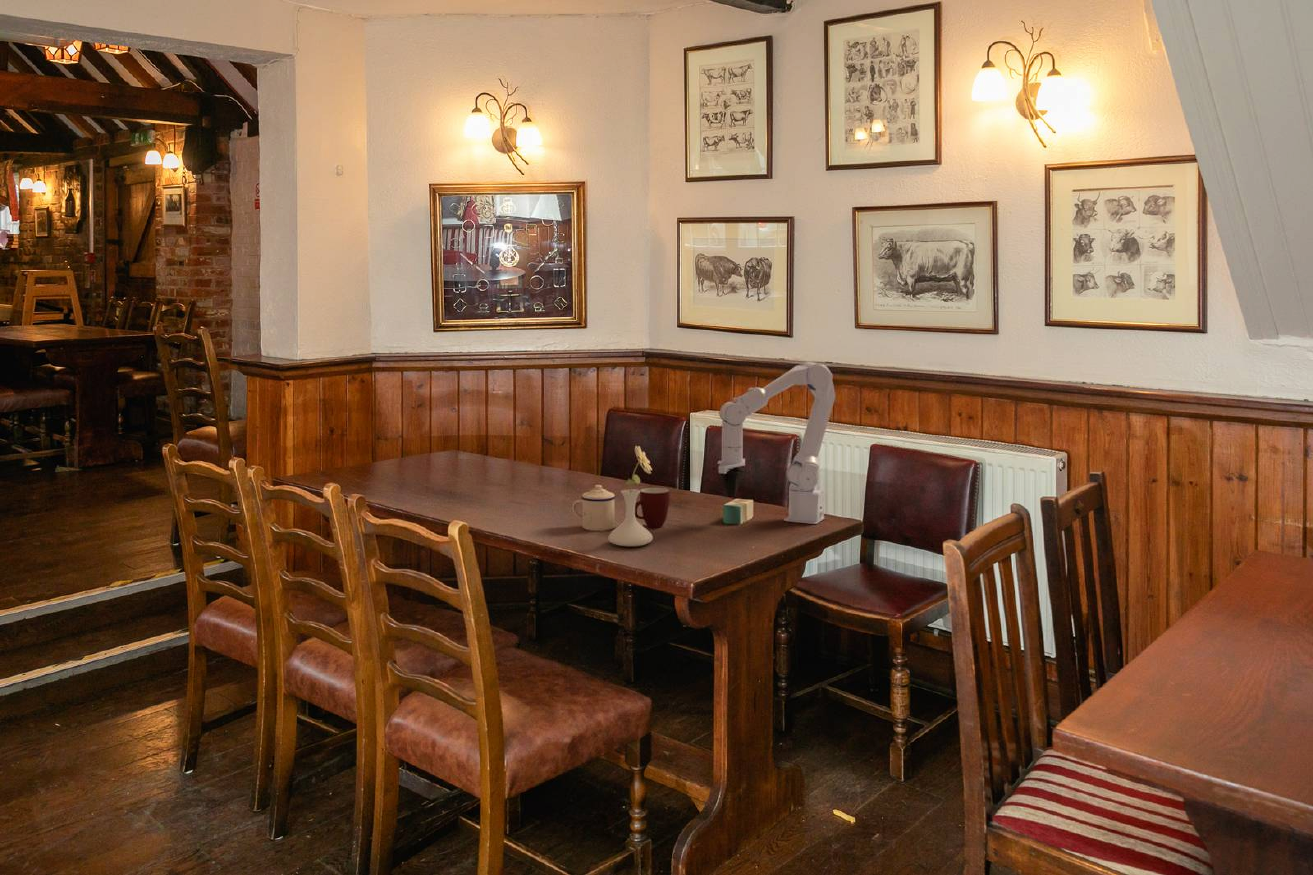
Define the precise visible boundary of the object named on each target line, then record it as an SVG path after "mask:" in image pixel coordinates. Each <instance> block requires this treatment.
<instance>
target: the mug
mask: <svg viewBox="0 0 1313 875" xmlns="http://www.w3.org/2000/svg"><path fill="white" fill-rule="evenodd" d="M639 491H640V493H639V501H636V503H635V518H636V519H638V520H644V523H645V524H646V526H647V527H648V528H650V529H660V528H662V527H663V526H664V524H665V522H666V520H667V518H668V511H669V508H670V507H669V506H670V500H671V495H670V494H671V493H670V492H671V491H670V489H669V488H664V487H645V488H641V489H640V490H639ZM639 506H640V508H641V514H642V516H641V515H638V508H639Z"/></svg>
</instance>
